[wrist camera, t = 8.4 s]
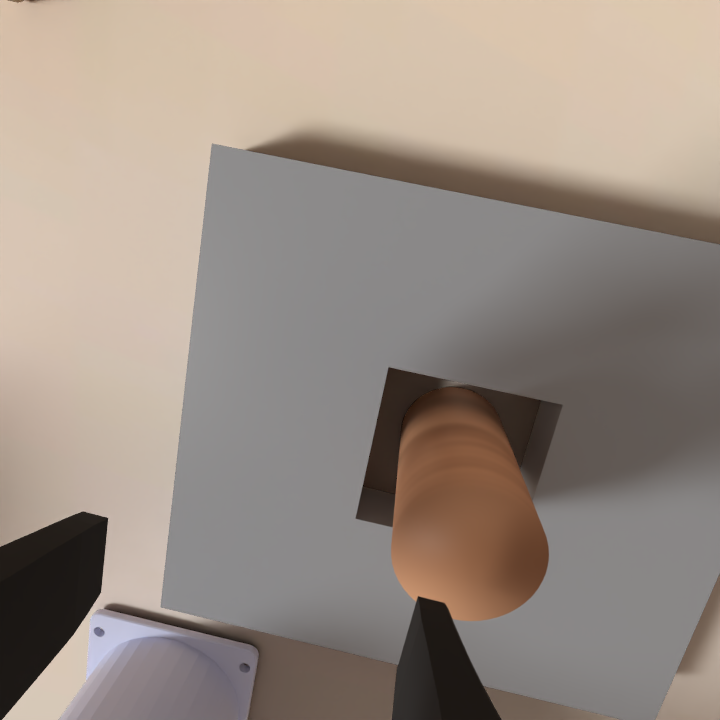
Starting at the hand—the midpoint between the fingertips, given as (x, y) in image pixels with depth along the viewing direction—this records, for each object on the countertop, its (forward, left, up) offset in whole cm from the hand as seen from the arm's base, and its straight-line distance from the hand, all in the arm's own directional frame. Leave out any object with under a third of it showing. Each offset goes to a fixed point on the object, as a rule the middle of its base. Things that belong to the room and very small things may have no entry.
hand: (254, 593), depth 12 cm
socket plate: (+1, -5, -10) cm, 11 cm away
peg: (+1, -5, -10) cm, 11 cm away
